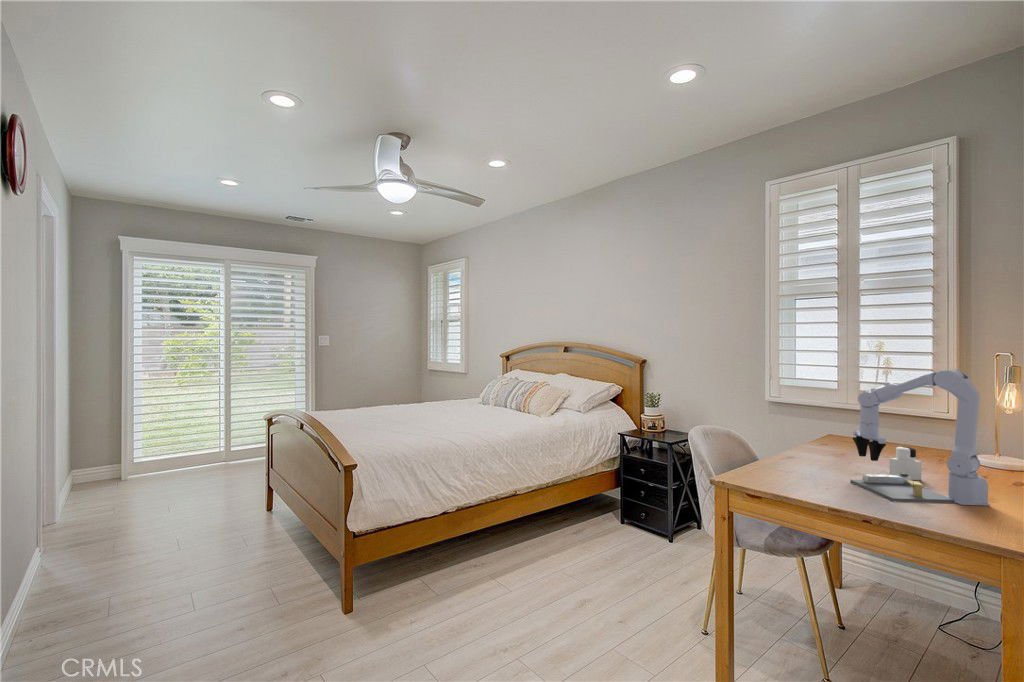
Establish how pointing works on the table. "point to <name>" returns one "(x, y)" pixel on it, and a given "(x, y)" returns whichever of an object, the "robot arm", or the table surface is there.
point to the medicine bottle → (906, 463)
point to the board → (902, 492)
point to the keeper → (916, 488)
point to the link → (885, 478)
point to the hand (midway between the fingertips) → (868, 458)
